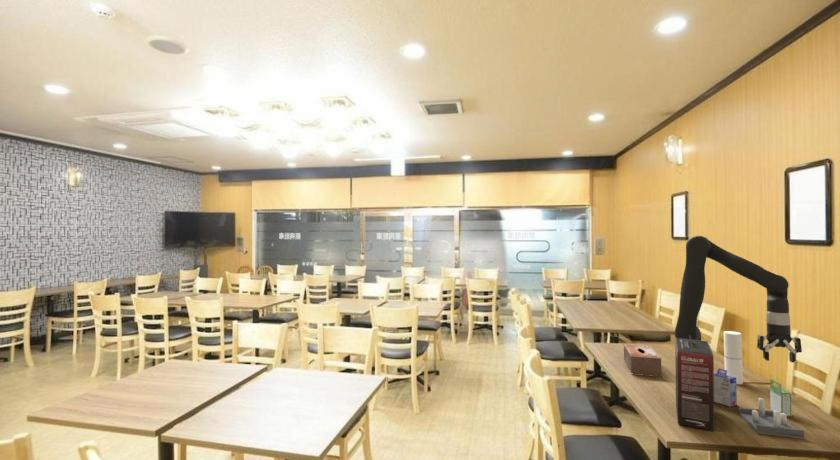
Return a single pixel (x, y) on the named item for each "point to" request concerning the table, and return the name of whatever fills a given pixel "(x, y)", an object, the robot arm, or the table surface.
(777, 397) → the ink box
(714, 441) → the table surface
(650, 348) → the tissue box cover
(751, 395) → the table surface
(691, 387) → the headset box
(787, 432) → the tray
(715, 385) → the ink cartridge box
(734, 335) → the cylindrical container
